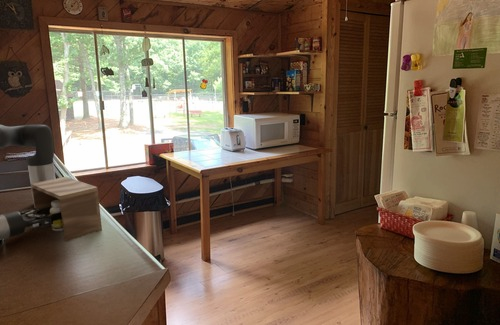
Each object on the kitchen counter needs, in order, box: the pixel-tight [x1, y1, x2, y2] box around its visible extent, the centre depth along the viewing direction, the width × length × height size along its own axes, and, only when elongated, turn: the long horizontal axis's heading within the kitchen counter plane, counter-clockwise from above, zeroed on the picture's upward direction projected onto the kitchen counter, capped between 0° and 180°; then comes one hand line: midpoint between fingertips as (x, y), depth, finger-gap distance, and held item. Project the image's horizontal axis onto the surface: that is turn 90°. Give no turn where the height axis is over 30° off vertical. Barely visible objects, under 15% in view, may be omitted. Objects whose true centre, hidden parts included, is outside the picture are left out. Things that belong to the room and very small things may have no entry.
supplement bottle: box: [50, 200, 64, 232], centre depth 124 cm, size 5×5×10 cm
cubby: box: [30, 176, 103, 243], centre depth 124 cm, size 23×12×15 cm, turn 51°
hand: (57, 211), depth 123 cm, fingers open, 8 cm apart
